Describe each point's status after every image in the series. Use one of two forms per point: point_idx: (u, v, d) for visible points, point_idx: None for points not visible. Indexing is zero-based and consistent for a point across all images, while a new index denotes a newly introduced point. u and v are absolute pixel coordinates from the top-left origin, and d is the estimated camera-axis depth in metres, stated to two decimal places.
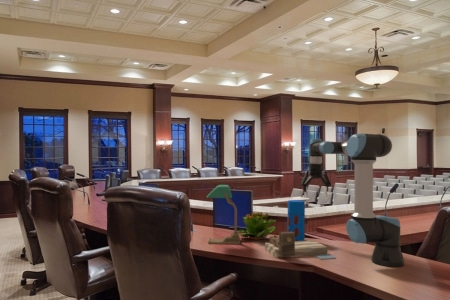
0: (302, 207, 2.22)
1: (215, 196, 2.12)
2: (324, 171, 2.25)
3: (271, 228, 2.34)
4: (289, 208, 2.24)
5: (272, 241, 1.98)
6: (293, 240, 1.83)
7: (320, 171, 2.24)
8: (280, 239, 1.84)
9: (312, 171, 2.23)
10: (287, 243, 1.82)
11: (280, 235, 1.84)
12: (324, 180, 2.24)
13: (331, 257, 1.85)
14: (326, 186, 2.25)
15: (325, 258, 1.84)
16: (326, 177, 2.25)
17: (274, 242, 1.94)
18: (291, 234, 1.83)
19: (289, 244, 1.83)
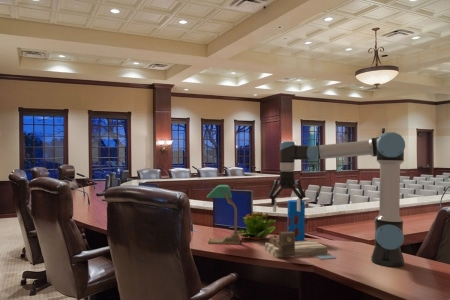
0: (302, 207, 2.22)
1: (215, 196, 2.12)
2: (297, 180, 1.86)
3: (271, 228, 2.34)
4: (289, 208, 2.24)
5: (272, 241, 1.98)
6: (293, 240, 1.83)
7: (292, 180, 1.85)
8: (280, 239, 1.84)
9: (282, 180, 1.84)
10: (287, 243, 1.82)
11: (280, 235, 1.84)
12: (297, 191, 1.86)
13: (331, 257, 1.85)
14: (299, 198, 1.86)
15: (325, 258, 1.84)
16: (299, 187, 1.86)
17: (274, 242, 1.94)
18: (291, 234, 1.83)
19: (289, 244, 1.83)
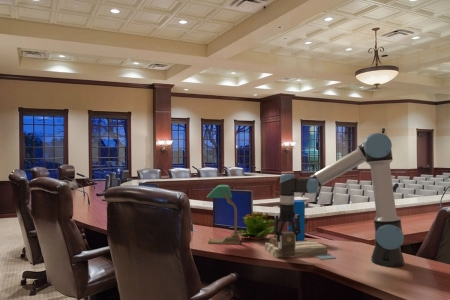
0: (302, 207, 2.22)
1: (215, 196, 2.12)
2: (297, 215, 1.86)
3: (271, 228, 2.34)
4: None
5: (272, 241, 1.98)
6: (293, 240, 1.83)
7: (293, 213, 1.85)
8: None
9: (282, 213, 1.83)
10: (287, 243, 1.82)
11: None
12: (294, 226, 1.85)
13: (331, 257, 1.85)
14: None
15: (325, 258, 1.84)
16: (297, 222, 1.85)
17: (274, 242, 1.94)
18: (291, 234, 1.83)
19: (289, 244, 1.83)
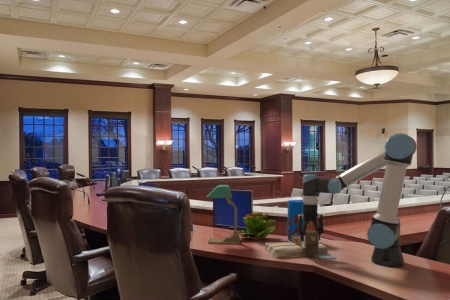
0: (302, 207, 2.22)
1: (215, 196, 2.12)
2: (320, 214, 1.89)
3: (271, 228, 2.34)
4: (289, 208, 2.24)
5: (293, 240, 2.01)
6: (317, 239, 1.86)
7: (316, 213, 1.88)
8: None
9: (305, 213, 1.86)
10: (310, 242, 1.85)
11: (304, 234, 1.87)
12: (317, 226, 1.88)
13: (331, 257, 1.85)
14: (318, 234, 1.88)
15: (325, 258, 1.84)
16: (320, 222, 1.88)
17: (296, 241, 1.97)
18: (315, 233, 1.86)
19: (313, 243, 1.86)
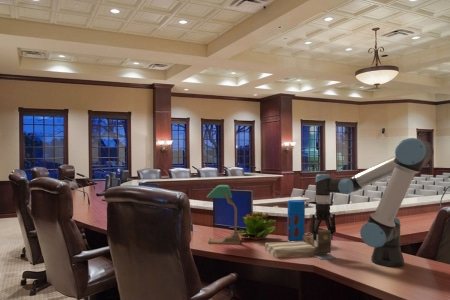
0: (302, 207, 2.22)
1: (215, 196, 2.12)
2: (333, 214, 1.91)
3: (271, 228, 2.34)
4: (289, 208, 2.24)
5: (305, 239, 2.03)
6: (329, 238, 1.88)
7: (328, 212, 1.90)
8: None
9: (318, 212, 1.88)
10: (323, 241, 1.87)
11: None
12: (330, 225, 1.90)
13: (331, 257, 1.85)
14: None
15: (325, 258, 1.84)
16: (333, 221, 1.90)
17: (308, 240, 1.99)
18: (327, 232, 1.88)
19: (326, 242, 1.88)
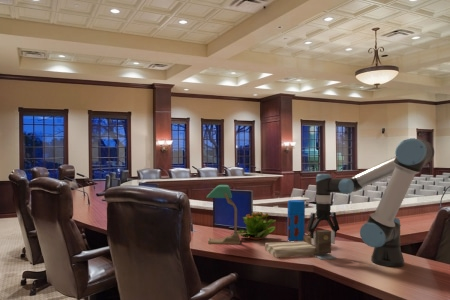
0: (302, 207, 2.22)
1: (215, 196, 2.12)
2: (333, 212, 1.91)
3: (271, 228, 2.34)
4: (289, 208, 2.24)
5: (306, 240, 2.03)
6: (330, 239, 1.89)
7: (328, 212, 1.90)
8: (317, 237, 1.89)
9: (319, 212, 1.88)
10: (323, 241, 1.88)
11: (317, 233, 1.89)
12: (332, 223, 1.90)
13: (331, 257, 1.85)
14: (334, 231, 1.91)
15: (325, 258, 1.84)
16: (335, 220, 1.90)
17: (309, 240, 2.00)
18: (328, 232, 1.88)
19: (326, 242, 1.88)
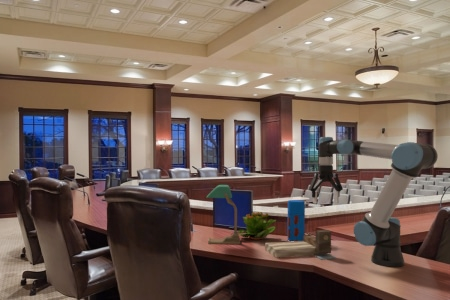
0: (302, 207, 2.22)
1: (215, 196, 2.12)
2: (335, 174, 1.97)
3: (271, 228, 2.34)
4: (289, 208, 2.24)
5: (306, 240, 2.03)
6: (330, 239, 1.89)
7: (331, 174, 1.96)
8: (317, 237, 1.89)
9: (322, 174, 1.95)
10: (323, 241, 1.88)
11: (317, 233, 1.89)
12: (335, 184, 1.97)
13: (331, 257, 1.85)
14: None
15: (325, 258, 1.84)
16: (337, 180, 1.97)
17: (309, 240, 2.00)
18: (328, 232, 1.88)
19: (326, 242, 1.88)
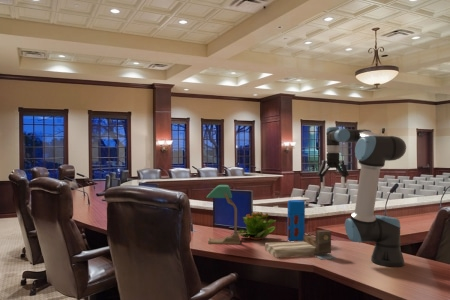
0: (302, 207, 2.22)
1: (215, 196, 2.12)
2: (341, 161, 2.16)
3: (271, 228, 2.34)
4: (289, 208, 2.24)
5: (306, 240, 2.03)
6: (330, 239, 1.89)
7: (337, 161, 2.15)
8: (317, 237, 1.89)
9: (329, 161, 2.13)
10: (323, 241, 1.88)
11: (317, 233, 1.89)
12: (341, 170, 2.15)
13: (331, 257, 1.85)
14: (343, 176, 2.16)
15: (325, 258, 1.84)
16: (344, 167, 2.15)
17: (309, 240, 2.00)
18: (328, 232, 1.88)
19: (326, 242, 1.88)
